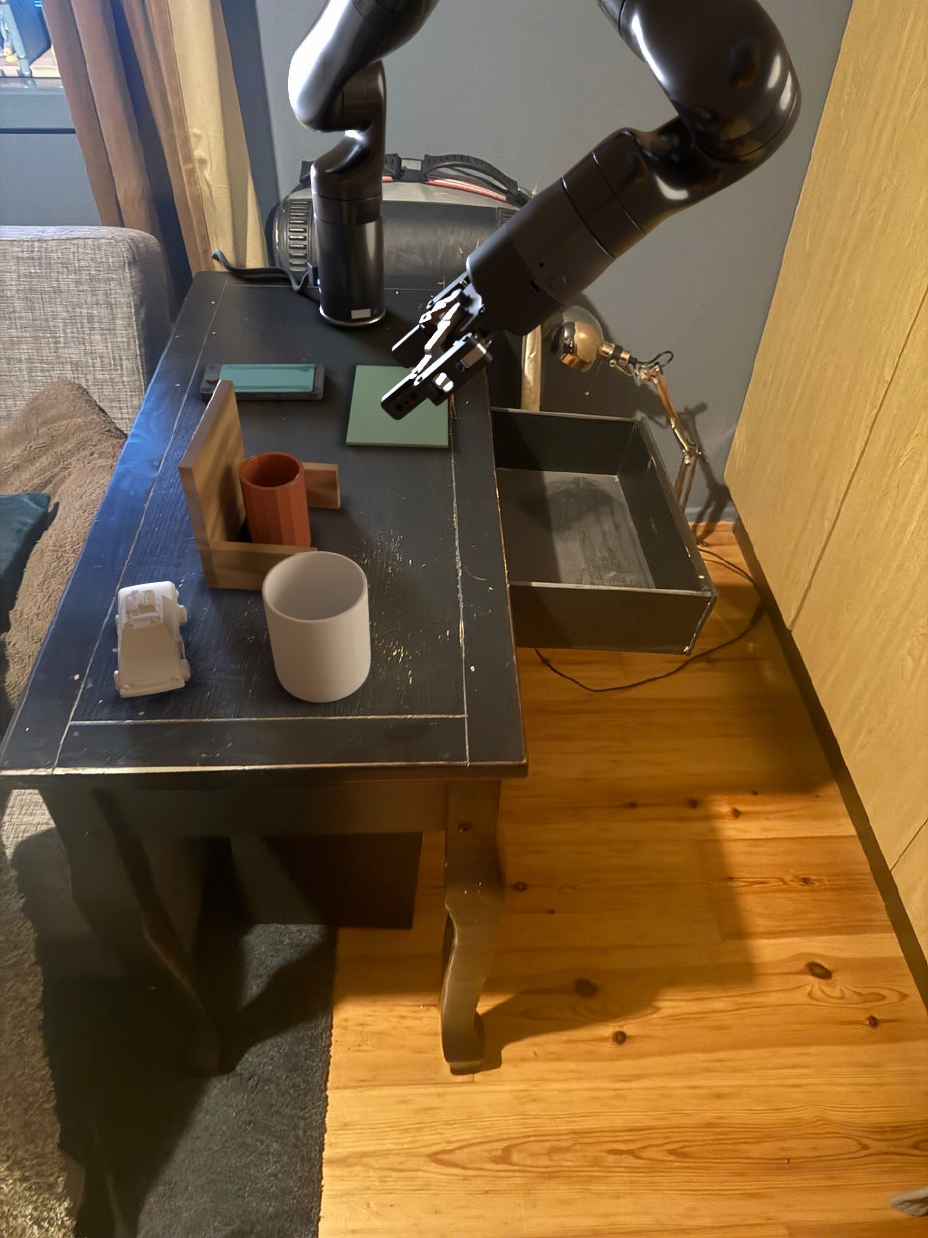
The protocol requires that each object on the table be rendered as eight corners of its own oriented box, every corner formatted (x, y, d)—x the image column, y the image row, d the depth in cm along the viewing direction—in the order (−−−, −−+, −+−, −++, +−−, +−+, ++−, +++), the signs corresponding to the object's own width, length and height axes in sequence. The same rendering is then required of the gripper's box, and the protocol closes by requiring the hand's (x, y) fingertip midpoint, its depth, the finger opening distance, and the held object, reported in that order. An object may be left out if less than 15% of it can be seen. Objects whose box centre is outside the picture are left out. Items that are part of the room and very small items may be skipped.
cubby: (340, 502, 89) (332, 386, 79) (319, 594, 79) (306, 475, 69) (241, 495, 89) (220, 379, 79) (207, 587, 79) (178, 466, 69)
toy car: (120, 714, 68) (98, 660, 63) (120, 613, 76) (101, 558, 71) (195, 701, 69) (178, 647, 64) (187, 603, 77) (172, 549, 72)
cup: (244, 533, 85) (230, 460, 78) (299, 518, 87) (291, 446, 80) (262, 568, 81) (250, 495, 75) (319, 552, 83) (312, 479, 77)
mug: (260, 618, 76) (244, 533, 69) (346, 600, 79) (340, 515, 71) (287, 716, 69) (273, 632, 61) (382, 692, 71) (379, 609, 63)
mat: (357, 367, 109) (357, 364, 109) (447, 371, 110) (447, 368, 109) (346, 444, 97) (346, 441, 96) (447, 448, 97) (448, 445, 97)
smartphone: (206, 362, 106) (323, 362, 107) (208, 371, 107) (324, 371, 108) (198, 392, 101) (321, 392, 102) (200, 401, 101) (322, 400, 103)
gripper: (510, 187, 65) (371, 315, 74) (510, 259, 55) (349, 399, 64) (566, 258, 69) (429, 373, 77) (576, 338, 59) (417, 460, 67)
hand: (393, 384), depth 70 cm, fingers open, 8 cm apart
